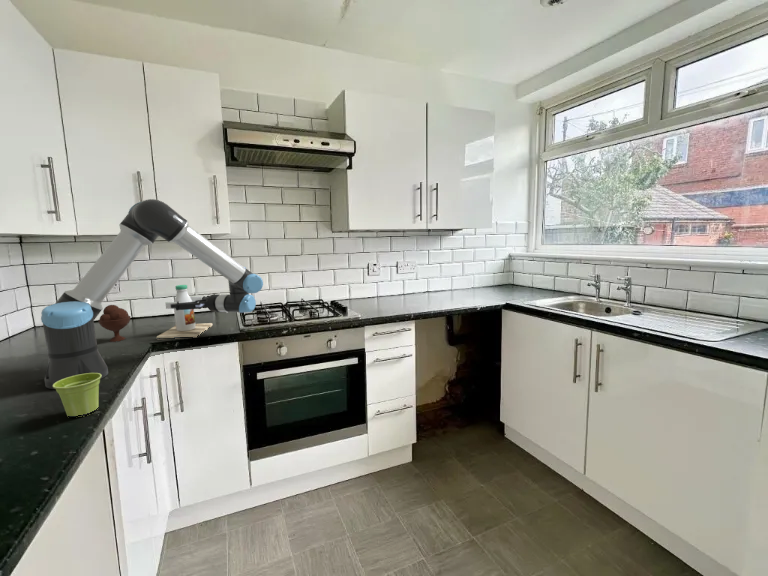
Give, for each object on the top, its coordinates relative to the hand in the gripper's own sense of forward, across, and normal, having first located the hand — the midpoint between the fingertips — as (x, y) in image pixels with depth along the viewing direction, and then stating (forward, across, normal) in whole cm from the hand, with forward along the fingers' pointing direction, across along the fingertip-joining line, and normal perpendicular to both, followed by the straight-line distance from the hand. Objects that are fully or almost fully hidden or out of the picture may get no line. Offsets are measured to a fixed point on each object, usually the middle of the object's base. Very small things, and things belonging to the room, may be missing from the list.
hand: (178, 302), depth 167 cm
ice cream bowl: (+19, -15, -14) cm, 28 cm away
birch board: (-3, 0, -14) cm, 14 cm away
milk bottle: (-3, 0, -13) cm, 13 cm away
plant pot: (-33, -70, -14) cm, 79 cm away
